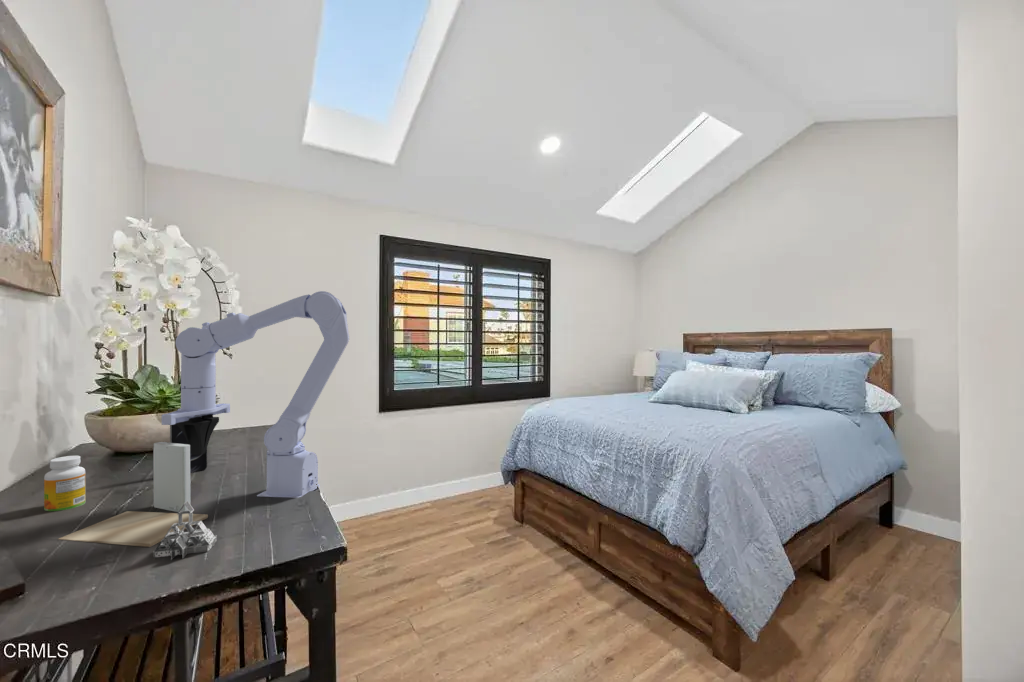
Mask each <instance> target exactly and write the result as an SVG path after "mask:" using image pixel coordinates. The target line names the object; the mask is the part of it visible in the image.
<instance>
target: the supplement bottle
mask: <svg viewBox="0 0 1024 682" xmlns="http://www.w3.org/2000/svg"><path fill="white" fill-rule="evenodd" d="M81 463H82V462H81V456H80V455H67V456H66V455H65V456H61V457H56V458H52V459H50V460H49V469H51V470H50V471H48V472H46V473H45V474H44V478H43V480H44V481H43V485H44V486H43V506H44V507H43V510H44V511H46V512H58V511H67V510H70V509H71V510H72V509H75V508H78V507H81V506H83V505H85V504H86V469H85V468H84V467H82V466H80V464H81Z"/></svg>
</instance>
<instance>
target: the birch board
mask: <svg viewBox="0 0 1024 682" xmlns="http://www.w3.org/2000/svg"><path fill="white" fill-rule="evenodd" d="M177 514H178V512H159V511H158V512H157V511H156V512H153V511H133V510H132V511H128V510H126V511H124V512H122V513H119V514H117V515H114V516H111V517H108V518H107V519H103V520H102V521H98V522H96V523H94V524H92V525H89V526H87V527H84V528H82V529H79V530H77V531H74V532H72V533H69V534H66V535H64V536H61V537H59V538H58V540H61V541H75V542H87V543H99V544H110V545H122V546H134V547H147V548H148V547H149V548H150V547H152V546H154V545H158V544H159V543H160V542H161V540H162V539H163V538H164V537H165V535H166V534H167V532H168V530H169V529H170V527H171V526H172V525H173V524H174V523H178V515H177ZM208 517H209V515H208V514H205V513H203V514H201V513H193V522H194V521H202V522H203V521H205V520H206V519H208ZM182 522H187V523H188V522H189V513H188V514H182ZM191 526H192V527H193V526H196V524H194V525H191ZM177 527H178V528H179V530H180V531H181V530H182V528H183V527H184V525H182V526H177ZM185 530H187V529H186V528H184V530H183V531H185ZM170 532H174V531H173V530H172V529H171V530H170Z"/></svg>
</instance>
